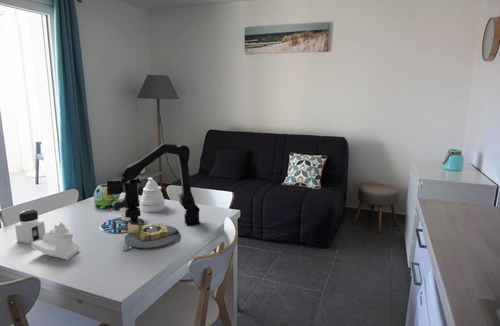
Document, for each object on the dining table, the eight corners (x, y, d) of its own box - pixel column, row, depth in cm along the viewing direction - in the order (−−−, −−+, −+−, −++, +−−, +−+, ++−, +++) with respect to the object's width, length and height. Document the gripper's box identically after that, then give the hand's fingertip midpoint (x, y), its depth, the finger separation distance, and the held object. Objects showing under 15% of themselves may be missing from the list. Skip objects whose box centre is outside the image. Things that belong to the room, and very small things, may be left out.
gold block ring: (175, 229, 151) (175, 221, 150) (158, 243, 137) (158, 234, 136) (139, 225, 156) (138, 217, 155) (119, 238, 141) (118, 229, 141)
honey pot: (161, 212, 179) (159, 180, 176) (137, 211, 180) (135, 180, 176) (167, 204, 192) (165, 174, 188) (145, 204, 192) (143, 174, 189)
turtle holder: (109, 211, 179) (107, 190, 177) (89, 206, 188) (87, 186, 186) (128, 205, 190) (127, 185, 187) (108, 200, 199) (107, 181, 197)
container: (46, 237, 146) (42, 209, 144) (29, 244, 139) (26, 215, 137) (33, 234, 149) (30, 207, 146) (16, 241, 142) (12, 213, 139)
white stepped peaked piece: (61, 248, 139) (67, 215, 139) (82, 260, 132) (89, 225, 131) (29, 253, 128) (36, 217, 128) (51, 266, 121) (59, 228, 120)
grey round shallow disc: (175, 225, 160) (174, 215, 160) (182, 244, 139) (182, 233, 138) (124, 231, 153) (123, 221, 152) (123, 253, 131) (122, 241, 130)
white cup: (131, 222, 164) (130, 203, 162) (117, 221, 165) (115, 202, 163) (139, 217, 171) (138, 198, 170) (126, 216, 173) (124, 197, 171)
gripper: (113, 189, 156) (116, 220, 159) (111, 200, 138) (114, 235, 141) (138, 187, 159) (140, 217, 162) (139, 197, 142) (141, 231, 145)
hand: (134, 225), depth 153 cm, fingers closed
